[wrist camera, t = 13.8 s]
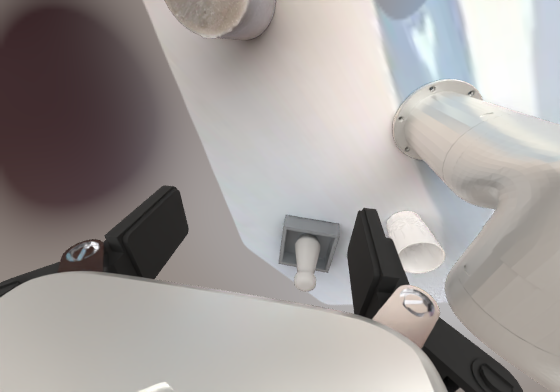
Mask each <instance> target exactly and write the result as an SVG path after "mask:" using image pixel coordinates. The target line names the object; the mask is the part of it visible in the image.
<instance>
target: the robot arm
mask: <svg viewBox="0 0 560 392" xmlns="http://www.w3.org/2000/svg"><path fill="white" fill-rule="evenodd" d="M430 87H432V89H431V90H429V88H430ZM469 92H470V93H469ZM468 93H469V94H468ZM399 117H401V119H399ZM393 138H394V141H395V143H396V145H397V146H398V148H399V149H400V150H401V151H402V152H403V153H404V154H406V155H407V156H409V157H411V158H414V159H419V160H424V161H425V162H426V163H427V164H428V165H429V166H430V168H431V169H432V170H433V171H434V172H435V173H436V174H437V175H438V176H439V177H440V178H441V180H442V181H443V182H444V183H445V184H446V185H447V186H448V187H449V188H450V189H451V190H452V191H453V192H454V193H455V194H456V195H457V196H458V197H459V198H461V199H462V200H464V201H466V202H468V203H470V204H473V205H475V206H479V207H483V208H489V209H496V210H495V211H494V213H493V214H492V216H491V217H490V219H489V220H488V221H487V222H486V224H485V225H484V226H483V228H482V231H481V232H480V233H479V234H478V236H477V237H476V238H475V239H474V241H473V242H472V243H471V244H470V246H469V247H468V248H467V249H466V251H465V252H464V253H463V254H462V256H461V257H460V258H459V259H458V261H457V262H456V263H455V264H454V266H453V267H452V269H451V270H450V272H449V273H448V276H447V278H446V281H445V294H446V298H447V301H448V303H449V305H450V307H451V309H452V311H453V312H454V314H455V315H456V316H457V318H458V319H459V320H460V321H461V322H462V324H463V325H464V326H465V327H466V328H467V329H468V330H469V331H470V332H471V333H472V334H473V335H474V336H476V337H477V338H478V339H479V340H480V341H481V342H483V343H484V344H485V345H486V346H488V347H489V348H490V349H491V350H493V351H494V352H495V353H496V354H498V355H499V356H501V357H502V358H503V359H505V360H506V361H508V362H509V363H510V364H512V365H513V366H515V367H516V368H518V369H519V370H520V371H522V372H523V373H525V374H526V375H528V376H529V377H530V378H532V379H533V380H535V381H536V382H538V383H539V384H541V385H542V386H544V387H545V388H546V389H548V390H549V391H551V392H560V124H557V123H553V122H550V121H546V120H543V119H540V118H537V117H533V116H530V115H527V114H523V113H520V112H517V111H514V110H511V109H508V108H504V107H501V106H498V105H495V104H492V103H489V102H485V101H483V99H482V96H481V95H480V93H479V91H478V90H477V89H476V88H475V87H474V86H473V85H471V84H469V83H467V82H465V81H461V80H456V79H442V80H437V81H434V82H431V83H428V84H426V85H424V86H422V87H420V88H419V89H417V90H416V91H414V92H413V93H412V94H411V95H410V96H408V97H407V99H406V100H405V101H404V102H403V103H402V104H401V106H400V108H399V109H398V111H397V113H396V116H395V118H394V122H393ZM406 147H407V148H406ZM405 148H406V149H405ZM187 234H188V224H187V220H186V216H185V212H184V208H183V204H182V199H181V195H180V192H179V190H177V188H176V187H174V186H162V187H161V188H160V189H159V190H157V191H156V192H155V193H154V194H153V195H151V196H150V197H149V198H148V199H147V200H146V201H144V202H143V203H142V204H141V205H140V206H139V207H137V208H136V209H135V210H134V211H133V212H132V213H130V214H129V215H128V216H127V217H126V218H124V219H123V220H122V221H121V222H120V223H119V224H117V225H116V226H115V227H114V228H113V229H112V230H110V231H109V232H108V233H107V234H106V235H105V238H106V240H105V241H104V242H102V241H101V240H97V239H90V240H85V241H82V242H79V243H77V244H75V245H73V246H71V247H70V248H69V249H67V250H66V251H65V252H64V253H63V255H62V257H61V260H60V262H58V263H55V264H52V265H49V266H46V267H43V268H40V269H37V270H34V271H31V272H28V273H25V274H23V275H20V276H17V277H14V278H11V279H8V280H6V281H3V282H1V283H0V392H523V390H522V388H521V387H520V385H519V383H518V382H517V380H516V379H515V378H514V377H513V376H512V374H511V373H510V372H509V371H508V370H507V369H505V368H504V367H503V366H502V365H501V364H500V363H498V362H497V361H496V360H494V359H493V358H492V357H491V356H489V355H488V354H487V353H485V352H484V351H483V350H481V349H480V348H479V347H477V346H476V345H475V344H474V343H472V342H471V341H470V340H468V339H467V338H466V337H464V336H463V335H462V334H460V333H459V332H458V331H457V330H455V329H454V328H453V327H451V326H450V325H449V324H447V323H446V322H445V321H444V320H442V319H441V318H440V317H439V315H440V310H439V306H438V305H437V303H436V301H435V300H434V299H433V298H432V296H431V295H429V294H428V293H427V292H426V291H424V290H422V289H420V288H418V287H415V286H412V285H409V282H408V279H407V277H406V274H405V271H404V269H403V266H402V263H401V260H400V258H399V255H398V252H397V250H396V247H395V244H394V242H393V240H392V239H391V238H386V237H385V234H384V231H383V228H382V225H381V222H380V219H379V216H378V213H377V211H376V209H368V208H363V210H362V211H360V210H359V211H358V214H357V218H356V221H355V225H354V229H353V232H352V236H351V240H350V243H349V247H348V252H347V258H348V266H349V274H350V282H351V290H352V298H353V306H354V314H352V313H348V312H343V311H339V310H334V309H329V308H324V307H318V306H313V305H307V304H302V303H296V302H290V301H284V300H278V299H272V298H266V297H261V296H254V295H248V294H243V293H236V292H230V291H224V290H218V289H211V288H205V287H199V286H193V285H187V284H181V283H175V282H167V281H162V280H155V278H156V276H157V275H158V274H159V272H160V271H161V269H162V268H163V266H164V265H165V264H166V263H167V261H168V260H169V258H170V257H171V256H172V254H173V253H174V252H175V250H176V249H177V248H178V246H179V245H180V243H181V242H182V241H183V239H184V238H185V236H186V235H187Z"/></svg>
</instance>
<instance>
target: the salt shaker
mask: <svg viewBox="0 0 560 392" xmlns="http://www.w3.org/2000/svg"><path fill="white" fill-rule="evenodd" d="M295 252H296V262H297V273H296V275H295V277H294V285H295V286H296V288H297V289H299V290H301V291H305V292H307V291H311V290H313V289H314V288H315V286H316V277H315V276H314V272H315V268H316V264H317V261H318V257H319V253H320V244H319V242H318V241H317V239H316V237H315V236H313V235H311V234H304V235H301V236H300V238H299V239H298V240H297V242H296V244H295Z"/></svg>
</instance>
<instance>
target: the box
mask: <svg viewBox="0 0 560 392" xmlns="http://www.w3.org/2000/svg"><path fill="white" fill-rule="evenodd" d="M304 234H311V235H313V236H315V237H316V239H317V241H318V242H319V244H320V253H319V257H318V261H317V264H316V268H315V270H316V271H321V272H327V273H328V271H329V268H330V265H331V262H332V259H333V255H334V252H335V249H336V246H337V243H338V240H339V236H340V234H339V224H337V223H331V222H325V221H319V220H313V219H307V218H302V217H296V216H290V215H286V217H285V221H284V226H283V233H282V241H281V249H280V257H279V264H284V265H289V266H294V267H297V262H296V252H295V244H296V242H297V240H298V239H299V238H300V236H301V235H304Z"/></svg>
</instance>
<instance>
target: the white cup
mask: <svg viewBox="0 0 560 392" xmlns="http://www.w3.org/2000/svg"><path fill="white" fill-rule="evenodd" d="M386 227H387V231H388V235H389V238H391V239H392V240H393V242H394V244H395V247H396V250H397V252H398V255H399V258H400V260H401V263H402V266H403V269H404V271H405V272H408V273H415V274H420V273H426V272H430V271H432V270H435V269H436V268H438V267H439V266H440V265H441V264H442V263H443V262H444V260H445V252H444V250H443V249H442V247H441V246H440V244H439V243H438V241H437V240H436V238H435V237H434V235H433V234H432V232H431V231H430V230H429V228H428V227H427V226H426V224H425V223H424V222H423V221H422V219H421V218H420V216H419V215H417V214H416V213H414V212H411V211H401V212H397V213H395V214H393V215H392V216H391V217H390V218H389V219H388V220H387V225H386Z"/></svg>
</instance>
